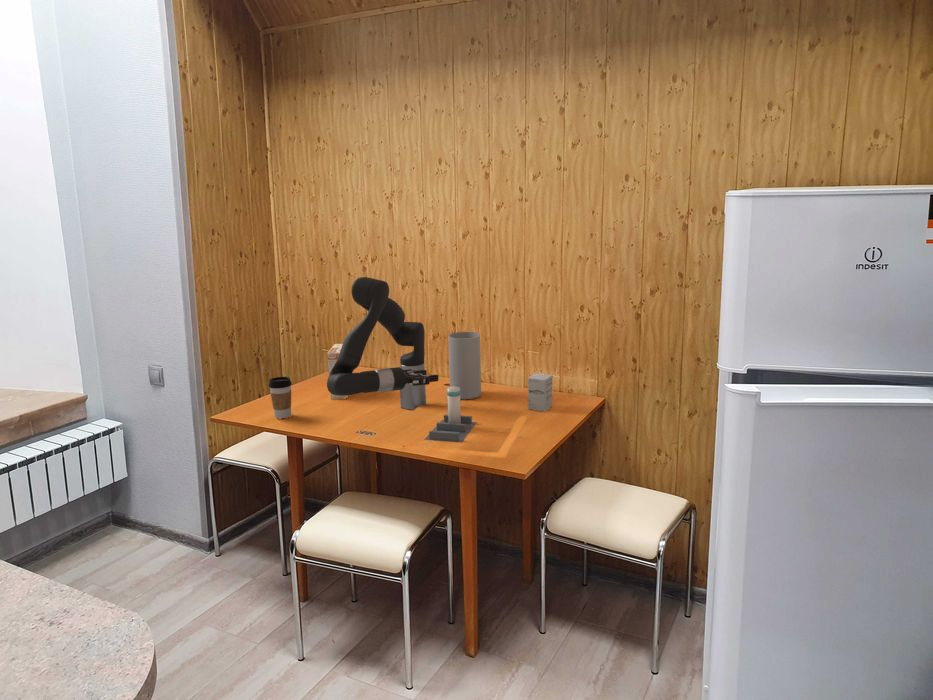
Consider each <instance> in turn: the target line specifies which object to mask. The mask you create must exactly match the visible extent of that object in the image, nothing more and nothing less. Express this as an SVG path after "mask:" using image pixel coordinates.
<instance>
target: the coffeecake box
mask: <svg viewBox="0 0 933 700" xmlns="http://www.w3.org/2000/svg"><path fill="white" fill-rule="evenodd" d="M342 345H343V343H334V344H333V345H332V347H331V348H330V349H329V350H328V352H327V353H326V355H327V364H328V365H327V367H328V375H329V374H330V372H331V370H332V368H333V367H334V365H335V363H336V361H337V360H338V357H339V354H340V351H341V348H342ZM348 396H349V397H350V395H347V396H339V395H333V394H331V393H330V400H341V399H340V398H347V399H348V398H349V397H348Z"/></svg>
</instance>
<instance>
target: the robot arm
mask: <svg viewBox="0 0 933 700" xmlns="http://www.w3.org/2000/svg"><path fill="white" fill-rule="evenodd" d="M350 291H351V297H352V299H353V301H354V302H355V303H356V304H357V305H359V306H360V307H361V308H364V310H366V311H367V314H366V315H365V317H363V319H362V320H361V321H360V322H359V323H358V324H357V325H356V326H354V328H353V329H352V330H350V332H349V333H348V334H347V335H346V336H345V338H344V341H343V343H342V344H343V345H342V348H341V351H340V354H339V357H338V360H337V361H336V363H335V365H334V367H333V368H332V370H331V372H330V374H329V373H328V377H327V381H326V388H327V391H328V392H329V394H330V395H331V394H333V395H339V396H347V395H349V396H354V395H357V394H362V393H364V394H366V393H376V392H377V393H378V392H379V393H380V392H381V393H382V392H383V393H384V392H394V391H399V399H400V401H399V402H400V403H399V404H400V408H402V409H406V410H416V409H417V408H419V407H420V406H423V407H425V406H427V393H426V391H427V389H426V386H427V385H430V383H433V382H438V381H439V380H440V379H439V375H438V374H430V375H429V374H427V369H426V367H425V365H426V364H425V357H426V356H425V350H426V349H425V344H426V343H425V342H426V341H425V337H426V336H425V327H424V324H423V323H422V322H421V321H405V319H406V313H405V312H404V310H403V308H402V307H401V306H400V305H399V304H398V303H397V302H396V301H395V300H393V299H392V298H391V297H389V296H390V286H389V284H388V282H386V281H384V280H381V279H376V278H372V277H368V276H360V277H358V278H356V279H355V280H354V281H353V283H352V285H351V290H350ZM377 323H379V324H380V325H381V326H383V328H385V329H386V330H387V332H388V333H389V334H390V336H391V337H392V339H393V340H394V341H395V343H396V344H397V345H399V346H403V347H413V350H412V351H411V352H408V353H405V354H402V355H401V356H400V357H399V358H400V359H399V360H400V361H399V363H400V365H399V366H398V367H387V368H385V367H384V368H378V369H375V370H374V369H373V370H372V369H371V370H364V371H363V370H362V371H360V372H354V370H356V369H357V368H358V367H359V365H360V363H361V360H362V357H363V355H364V351H365V349H366V346H367V344H368V341H369V338H370V336H371V334H372V332H373V330H374V328H375V327H376V325H377Z"/></svg>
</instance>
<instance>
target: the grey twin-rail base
mask: <svg viewBox="0 0 933 700" xmlns="http://www.w3.org/2000/svg"><path fill="white" fill-rule="evenodd" d="M477 423H478V422H477V421H473V416H472V415H462V414H461V424H456V423H448V413H447V414H444V415H443V419H441V420H440V421H438V422H436V426H435V427H434V428H433V429H431V430H429V432H428V435H427V436H426V437H425V438H424V439H423V440H424V441H433V442H434V441H435V442H436V441H437V442H449V443H463V442H464V441H465V439H466V438H467V436H468V435H469V434H470V433H471V431H472V429H473V428H474V427H475V426H476V424H477Z"/></svg>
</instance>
